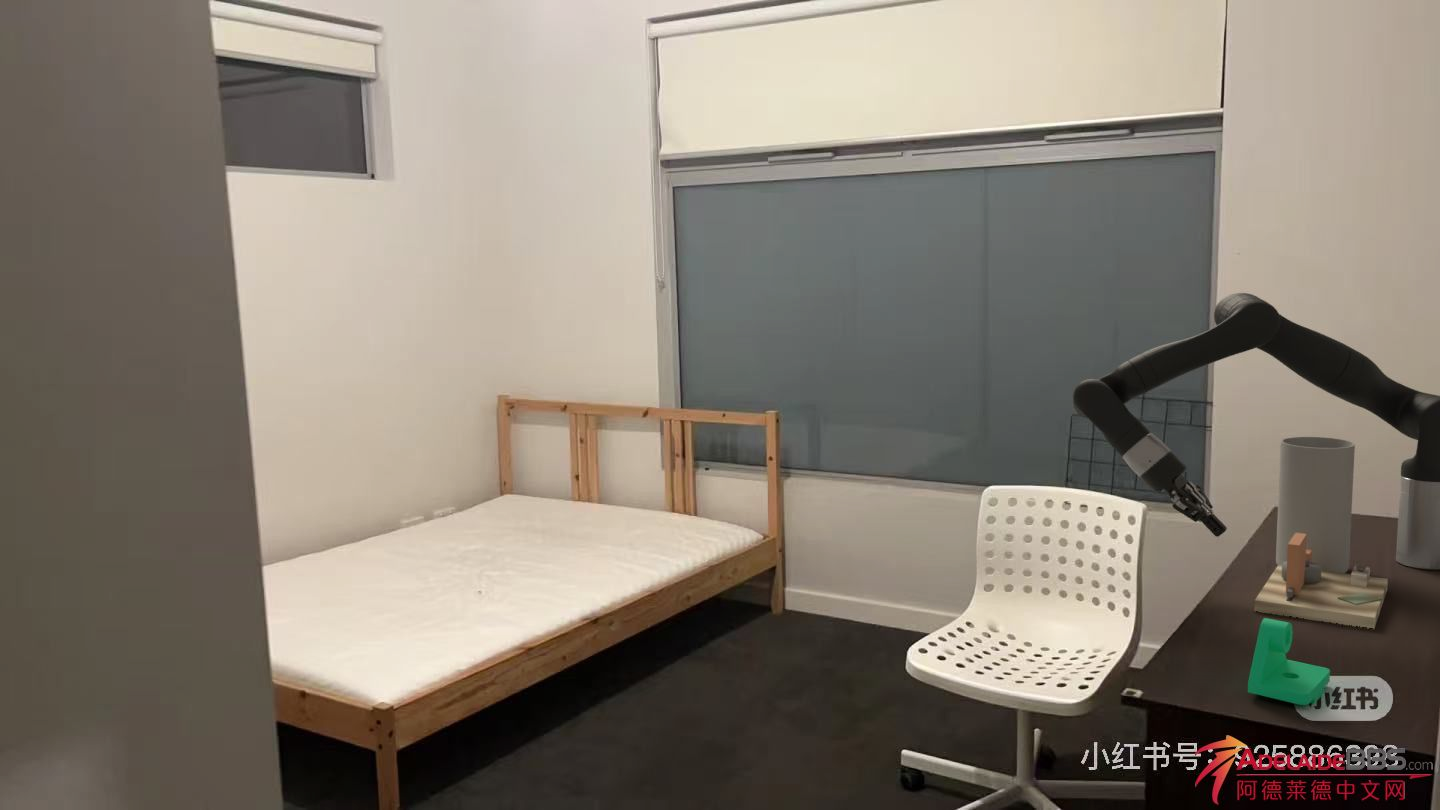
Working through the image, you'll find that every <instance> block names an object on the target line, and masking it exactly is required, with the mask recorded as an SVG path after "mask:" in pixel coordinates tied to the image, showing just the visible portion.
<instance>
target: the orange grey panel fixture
mask: <svg viewBox="0 0 1440 810" xmlns="http://www.w3.org/2000/svg"><path fill="white" fill-rule="evenodd" d="M1306 539H1307V534H1303V533H1295V534H1294V536H1293V537H1292V539H1291V540H1290V541H1289V543H1288V552H1287V561H1284V562H1282V575H1281V576H1282V578H1284V579H1286V594H1287V597H1291V598H1292V597H1293V595H1298V593H1299V591H1300V590H1301V588H1302V586H1303V584H1304V583H1317V582H1320V581H1321V570H1322V567H1321V565H1319V564H1316V563H1313V562H1311V561H1312V550H1307V549H1306Z"/></svg>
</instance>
